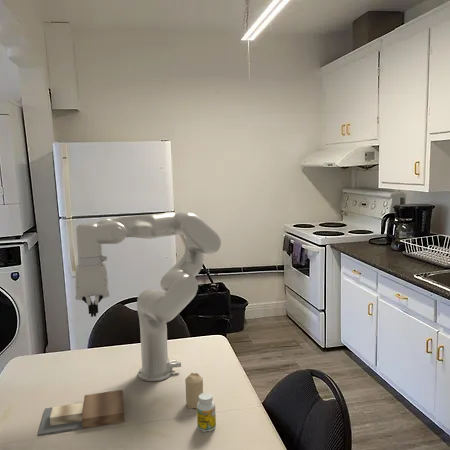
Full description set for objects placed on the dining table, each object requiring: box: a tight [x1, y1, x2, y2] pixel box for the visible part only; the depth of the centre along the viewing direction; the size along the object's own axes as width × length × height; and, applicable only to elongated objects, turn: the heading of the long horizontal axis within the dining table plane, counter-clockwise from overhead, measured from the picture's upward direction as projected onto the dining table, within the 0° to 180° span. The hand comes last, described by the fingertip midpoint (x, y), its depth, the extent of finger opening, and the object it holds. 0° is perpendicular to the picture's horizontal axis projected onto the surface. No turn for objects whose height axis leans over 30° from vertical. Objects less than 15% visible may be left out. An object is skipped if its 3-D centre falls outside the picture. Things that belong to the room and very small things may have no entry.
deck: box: [81, 389, 126, 430], centre depth 135 cm, size 12×14×3 cm
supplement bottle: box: [196, 392, 217, 432], centre depth 126 cm, size 5×5×10 cm
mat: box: [37, 406, 83, 437], centre depth 132 cm, size 12×14×1 cm
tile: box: [50, 402, 84, 426], centre depth 132 cm, size 9×6×2 cm, turn 104°
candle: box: [184, 372, 204, 409], centre depth 138 cm, size 6×6×10 cm
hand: (93, 315), depth 144 cm, fingers closed
